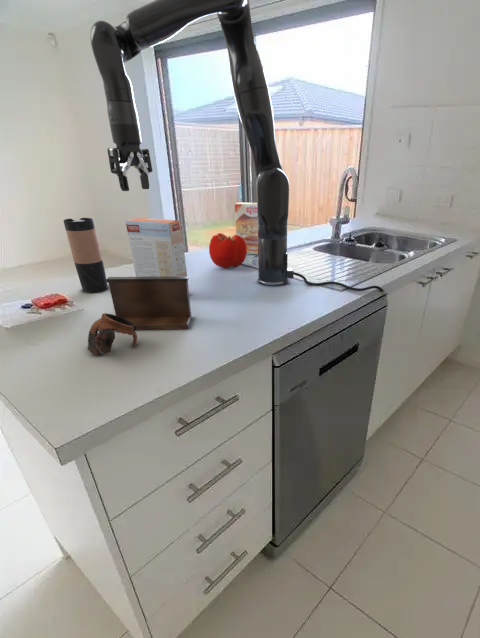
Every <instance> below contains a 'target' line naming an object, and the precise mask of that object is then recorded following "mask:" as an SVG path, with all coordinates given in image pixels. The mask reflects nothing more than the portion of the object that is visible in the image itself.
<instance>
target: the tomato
mask: <svg viewBox="0 0 480 638" xmlns="http://www.w3.org/2000/svg"><path fill="white" fill-rule="evenodd" d="M208 253H209V257H210V260H211V261H212V263H213V264H214V265H216V266H217V267H219V268H223V269H227V270H228V269H230V268H237V267H239V266H241V265H243V263H244V262H245V260H246V259H247V255H248V254H247V246H246V243H245V241H244V239H243V238H242V237H241V236H237V235H236V234H234V235H232V236H231V235H229V236H227V235H226V234H225V233H222V232H221V233H218V232H217V233H215V234H214V235H213V236H212V237H211V239H210V241H209V246H208Z"/></svg>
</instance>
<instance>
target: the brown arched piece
mask: <svg viewBox="0 0 480 638" xmlns="http://www.w3.org/2000/svg"><path fill="white" fill-rule="evenodd" d="M136 328H137V326H136V325H135V324H134V323H132V322H130V321H128V320H126V319H124V318H122V317H119V316H116V314H113V313H102V314H101V318H99V319H97V320H95V321H94V322H93V323H92V325H91V326H90V328H89V331H88V334H87V335H88V337H87V338H88V339H87V350H88V351H89V352H90V353H91V354H92V355H95V356H99V352H101V353H102V354H108V353H111V352H112V347H113V344H114V341H115V339H116V333H119V334H122V335H129V336H132V339H133V341H132V345H133V346H134V347H135V346H137V344H138V343H137V342H138V334H137V332H136V331H137V330H136Z"/></svg>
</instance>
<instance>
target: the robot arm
mask: <svg viewBox="0 0 480 638" xmlns="http://www.w3.org/2000/svg"><path fill="white" fill-rule="evenodd" d="M250 5H251V4H250V0H153V1H150V2H148V3H146V4H144V5H142V6H140V7H139V6H138V8H136V9H133V10H131V11H129V12H128V13H127V14H126V18H125V21H123V22H122V23H120V24H118V25H116V26H114V25H112V24H111V23H110V22H108V21H106V20H97V21H95V22H94V23H93V24H92V26H91V28H90V33H89V34H90V35H89V37H90V46H91V49H92V54H93V56H94V59H95V60H94V61H95V63H96V66H97V70H98V71H99V75H100V76H101V77H100V78H101V80H102V86H103V91H104V95H105V101H106V109H107V111H106V112H107V118H108V122H109V127H110V133H111V138H112V143H114V144H115V146H116V147H108V148H107V149H106V150H107V155H108V156H107V157H108V162H109V163H108V164H109V168H110V172H111V174H115V175H116V176H117V178H118V183H119V188H120V189H121V191H122V192H129V191H130V187H129V181H128V176H127V173H128V170H129V169H130V168H131V167H134V168H135V169H136V170H137V171H138V173H139V178H140V179H139V180H140V185H141V189H142V190H149V189H150V181H149V175H150V173H153V165H152V160H151V154H150V150H149V149H148V148H141V146H140V145H141V144H142V143H143V140H142V134H141V127H140V121H139V115H138V111H137V107H136V103H135V96H134V91H133V85H132V82H131V81H132V80H131V79H130V77H129V76H128V75H127V72H126V69H125V65H124V64H125V63H127V62H129V61H131V60H133V59H134V58H136V57H137V56H138V55H140V54H141V53H143V51H144V50H147V49H150V48H152V47H154V46H156V45H159V44H161V43H164V42H165V41H167V40H169V39H171V38H173V37H174V36H175V35H177V34H178V33H179V32H181V31H182V30H183V29H184V28H185V27H187V26H188V25H190V24H192V23H193V22H195V21H197V20H199V19H201V18H203V17H206V16H209V15H213V14H214V15H215V14H216V15H217V19H218V22H219V25H220V28H221V31H222V35H223V38H224V41H225V45H226V47H227V48H226V49H227V55H228V63H229V72H230V79H231V86H232V91H233V96H234V101H235V103H236V109H237V112H238V115H239V120H240V123H241V126H242V129H243V133H244V134H245V138H246V140H247V143H248V146H249V149H250V151H251V156H252V160H253V165H254V166H253V167H254V173H255V179H256V181H255V183H256V203H257V222H258V255H257V261H258V263H257V268H258V275H257V276H258V279H257V280H258V281H257V282H258V283H259V284H261V285H264V286H281V285H288V279H294V276H296V277H299V278H302V280H303V281H304V284H306V285H308V286H326V285H336V286H340V287H342V288H345V289H348V290H350V291H354V292H365V291H368V290H369V291H370V290H373V289H376V290H379V291H380V292H384V289H383V288H382V287H380V286H378V285H370V286H365V287H361V288H360V287H353V286H350V285H347V284H345V283H342V282H339V281H331V280H330V281H322V282H316V283H315V282H310V281H308V280H307V278H306V276H304V275H303V274H302V273H298V272H295V271H294V269H293V267H288V259H289V258H288V221H289V220H288V219H289V210H290V209H289V207H290V206H289V205H290V182H289V179H288V177H287V175H286V173H285V172H284V170H283V167H282V164H281V160H280V156H279V152H278V149H277V144H276V134H275V133H276V132H275V119H274V113H273V112H274V111H273V105H272V100H271V94H270V89H269V86H268V80H267V77H266V72H265V70H264V66H263V63H262V60H261V58H260V53H259V51H258V48H257V44H256V41H255V40H256V39H255V35H254V29H253V21H252V14H251V6H250Z"/></svg>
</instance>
